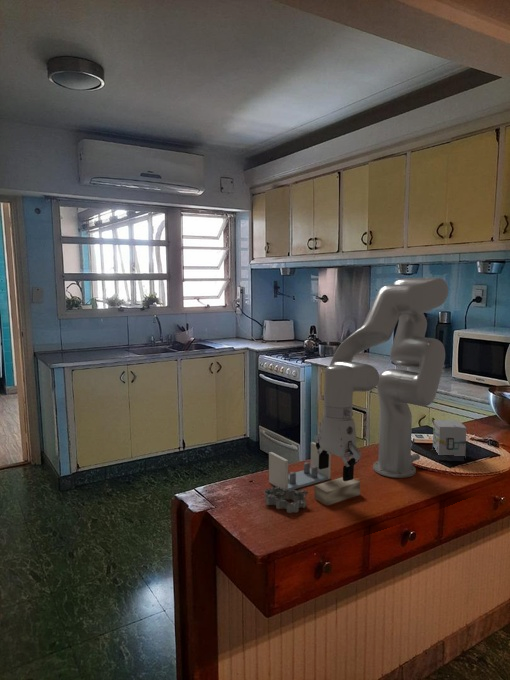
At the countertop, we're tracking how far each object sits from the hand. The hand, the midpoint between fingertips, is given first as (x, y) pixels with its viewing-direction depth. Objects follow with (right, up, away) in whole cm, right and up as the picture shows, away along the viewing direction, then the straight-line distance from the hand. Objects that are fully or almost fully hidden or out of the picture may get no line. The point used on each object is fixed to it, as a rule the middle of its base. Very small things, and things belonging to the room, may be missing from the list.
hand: (335, 474), depth 127 cm
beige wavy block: (+1, -7, +1) cm, 7 cm away
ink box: (+43, -3, +30) cm, 52 cm away
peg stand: (-8, -5, +12) cm, 16 cm away
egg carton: (-14, -8, -3) cm, 16 cm away
